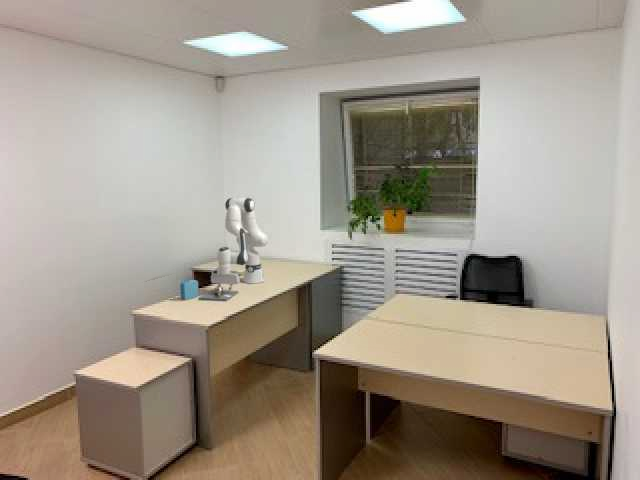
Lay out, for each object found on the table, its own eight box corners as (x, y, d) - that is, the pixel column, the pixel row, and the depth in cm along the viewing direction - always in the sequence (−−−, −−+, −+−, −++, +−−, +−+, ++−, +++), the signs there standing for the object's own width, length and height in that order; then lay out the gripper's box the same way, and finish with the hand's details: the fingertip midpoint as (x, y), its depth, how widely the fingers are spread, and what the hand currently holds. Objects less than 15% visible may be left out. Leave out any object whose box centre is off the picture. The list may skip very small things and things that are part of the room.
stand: (212, 291, 353) (212, 288, 352) (239, 293, 348) (239, 290, 348) (198, 299, 331) (198, 296, 331) (227, 301, 327) (227, 298, 327)
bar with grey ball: (213, 290, 348) (213, 284, 348) (222, 290, 350) (222, 283, 349) (215, 297, 329) (215, 290, 328) (224, 297, 331) (224, 290, 330)
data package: (194, 295, 342) (193, 279, 340) (198, 296, 339) (198, 280, 338) (180, 299, 332) (179, 282, 330) (185, 300, 330) (184, 283, 328)
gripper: (240, 270, 343) (241, 289, 345) (213, 269, 346) (213, 288, 348) (237, 272, 337) (238, 291, 339) (209, 271, 340) (210, 290, 342)
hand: (225, 289), depth 344 cm, fingers open, 5 cm apart
